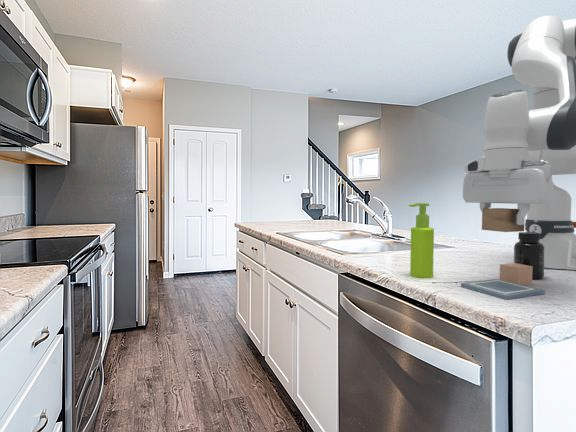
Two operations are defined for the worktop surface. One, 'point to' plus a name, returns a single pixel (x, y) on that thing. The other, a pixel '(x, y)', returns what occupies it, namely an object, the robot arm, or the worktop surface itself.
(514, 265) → the terracotta block
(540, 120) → the robot arm
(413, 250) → the soap dispenser
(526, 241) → the supplement bottle
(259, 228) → the worktop surface
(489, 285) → the board
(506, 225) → the walnut block
